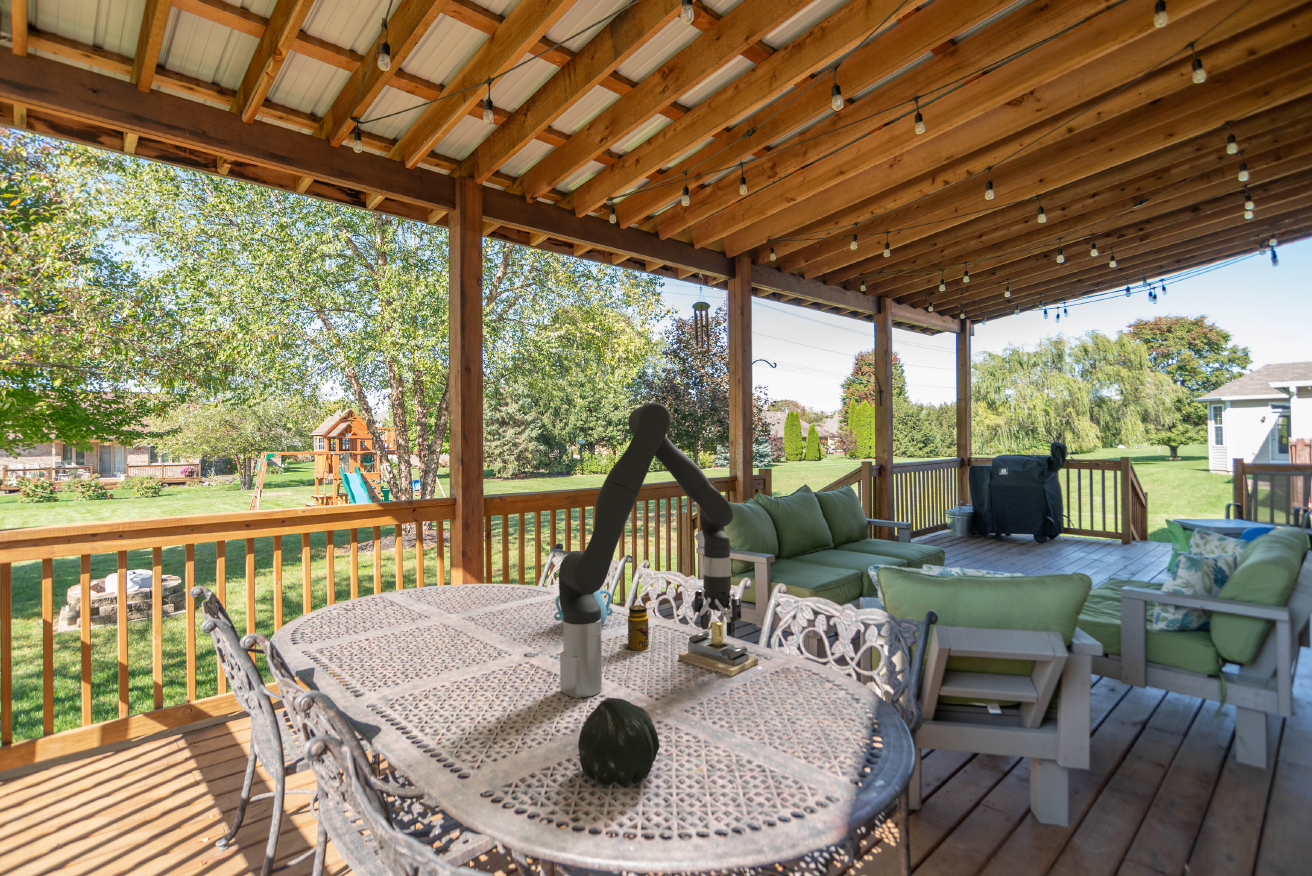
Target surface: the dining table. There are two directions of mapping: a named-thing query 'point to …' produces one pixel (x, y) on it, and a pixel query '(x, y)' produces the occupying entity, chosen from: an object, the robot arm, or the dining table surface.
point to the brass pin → (717, 634)
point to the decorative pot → (599, 600)
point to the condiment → (637, 630)
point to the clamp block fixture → (717, 655)
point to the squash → (618, 743)
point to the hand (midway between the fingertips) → (717, 632)
